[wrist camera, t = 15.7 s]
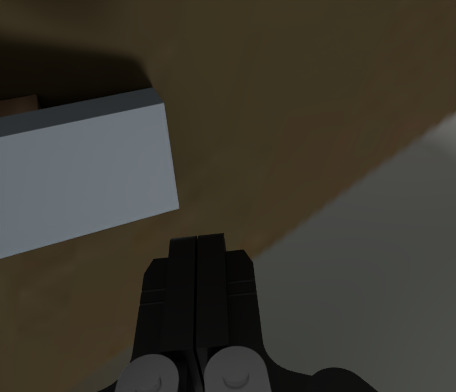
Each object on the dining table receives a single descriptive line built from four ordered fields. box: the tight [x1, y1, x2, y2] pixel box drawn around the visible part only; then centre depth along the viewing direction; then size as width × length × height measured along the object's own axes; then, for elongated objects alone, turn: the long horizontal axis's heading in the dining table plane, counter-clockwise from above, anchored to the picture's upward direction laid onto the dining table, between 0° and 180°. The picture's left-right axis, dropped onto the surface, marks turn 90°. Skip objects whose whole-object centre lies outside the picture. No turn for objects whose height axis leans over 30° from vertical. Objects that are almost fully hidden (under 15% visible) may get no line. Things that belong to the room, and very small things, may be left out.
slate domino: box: [0, 87, 179, 258], centre depth 17 cm, size 2×5×10 cm
